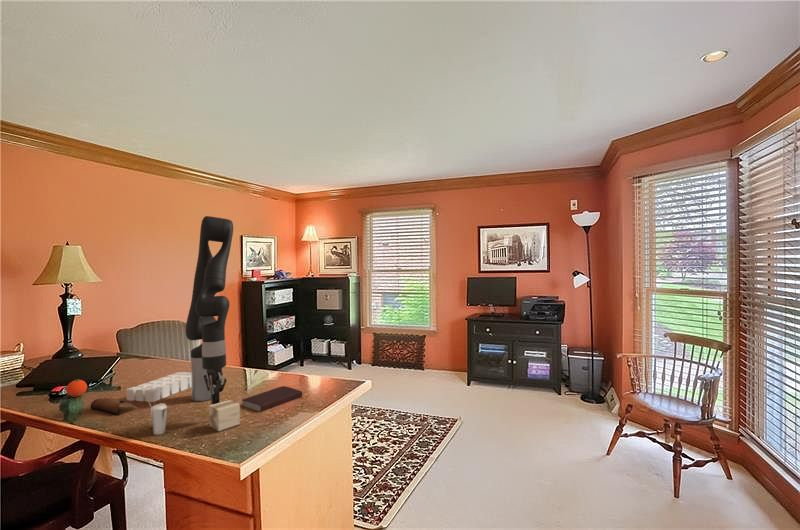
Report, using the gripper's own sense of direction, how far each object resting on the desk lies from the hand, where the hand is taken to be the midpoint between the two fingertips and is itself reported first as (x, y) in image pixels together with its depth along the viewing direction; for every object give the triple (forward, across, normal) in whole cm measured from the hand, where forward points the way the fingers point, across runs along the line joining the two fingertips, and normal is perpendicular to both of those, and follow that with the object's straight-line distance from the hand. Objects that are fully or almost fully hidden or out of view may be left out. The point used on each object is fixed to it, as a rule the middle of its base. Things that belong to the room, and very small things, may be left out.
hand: (215, 403), depth 133 cm
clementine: (+5, +77, +24) cm, 81 cm away
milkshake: (+6, +5, +16) cm, 18 cm away
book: (+6, +1, -23) cm, 24 cm away
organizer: (+6, +54, -6) cm, 55 cm away
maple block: (+6, -8, 0) cm, 9 cm away
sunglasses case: (+6, +44, +18) cm, 48 cm away
